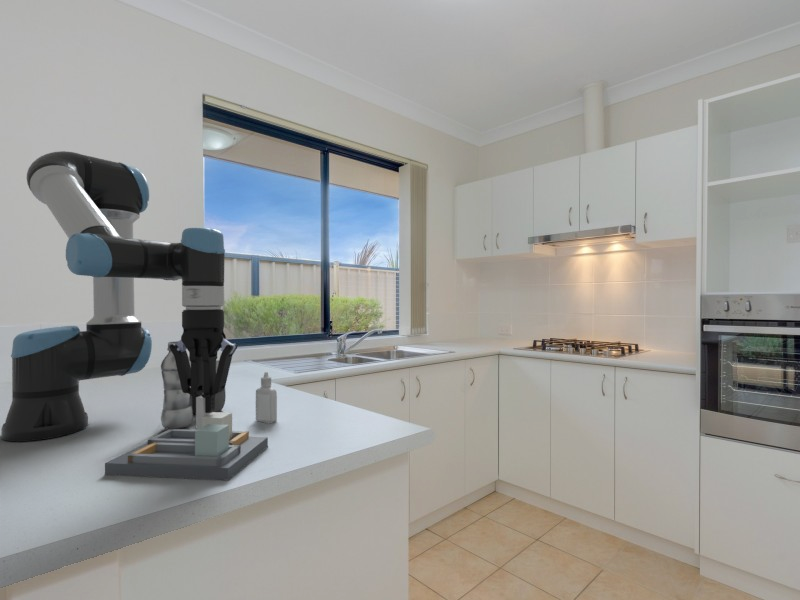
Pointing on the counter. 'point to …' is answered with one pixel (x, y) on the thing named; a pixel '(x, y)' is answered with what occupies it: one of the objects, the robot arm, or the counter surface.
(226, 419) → the tab
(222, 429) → the tab
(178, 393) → the plastic bottle
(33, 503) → the counter surface
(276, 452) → the counter surface
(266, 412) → the eye dropper bottle
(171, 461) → the dark grey divided tray
